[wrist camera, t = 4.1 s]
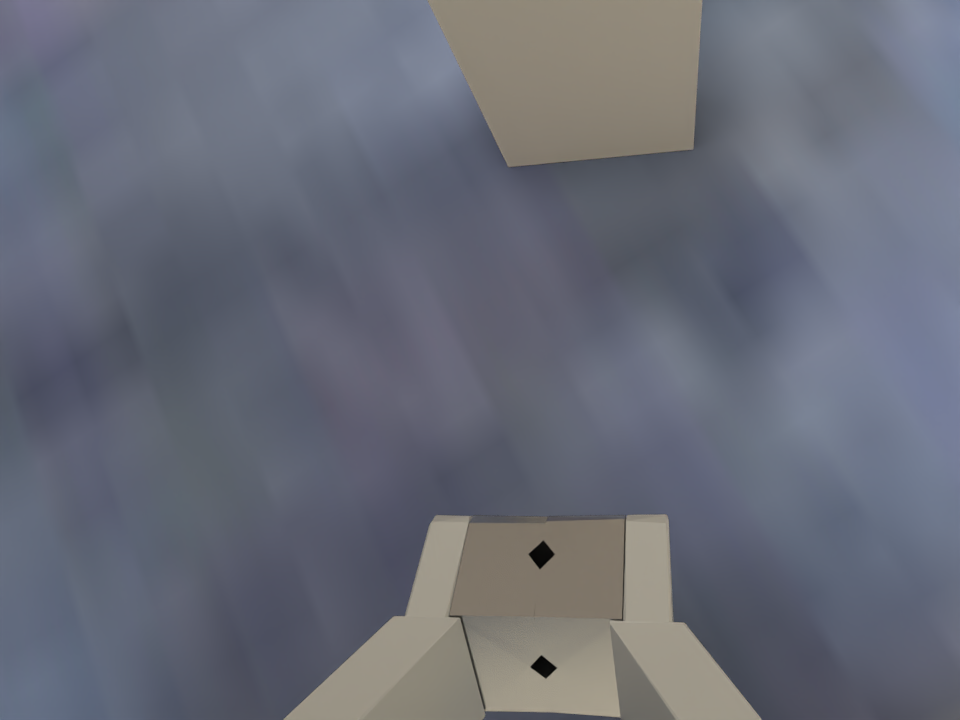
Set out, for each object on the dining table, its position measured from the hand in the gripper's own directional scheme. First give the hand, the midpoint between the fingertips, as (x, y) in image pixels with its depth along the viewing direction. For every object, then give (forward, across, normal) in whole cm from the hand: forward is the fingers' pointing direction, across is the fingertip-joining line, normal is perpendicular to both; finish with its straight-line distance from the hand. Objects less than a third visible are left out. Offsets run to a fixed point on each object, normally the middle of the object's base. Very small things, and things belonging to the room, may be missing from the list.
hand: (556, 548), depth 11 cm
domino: (+15, 0, 0) cm, 15 cm away
